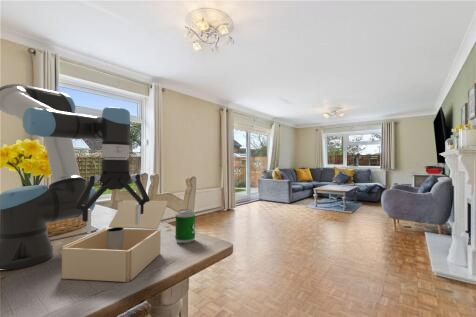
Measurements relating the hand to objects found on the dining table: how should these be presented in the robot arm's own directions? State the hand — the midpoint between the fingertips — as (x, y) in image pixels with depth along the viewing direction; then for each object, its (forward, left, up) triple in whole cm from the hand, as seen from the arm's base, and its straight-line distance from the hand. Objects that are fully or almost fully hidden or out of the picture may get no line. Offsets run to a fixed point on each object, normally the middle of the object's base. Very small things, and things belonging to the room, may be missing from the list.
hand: (114, 228), depth 72 cm
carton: (0, 0, -11) cm, 11 cm away
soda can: (+15, +22, -11) cm, 29 cm away
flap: (0, +9, -3) cm, 10 cm away
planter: (0, 0, -11) cm, 11 cm away
